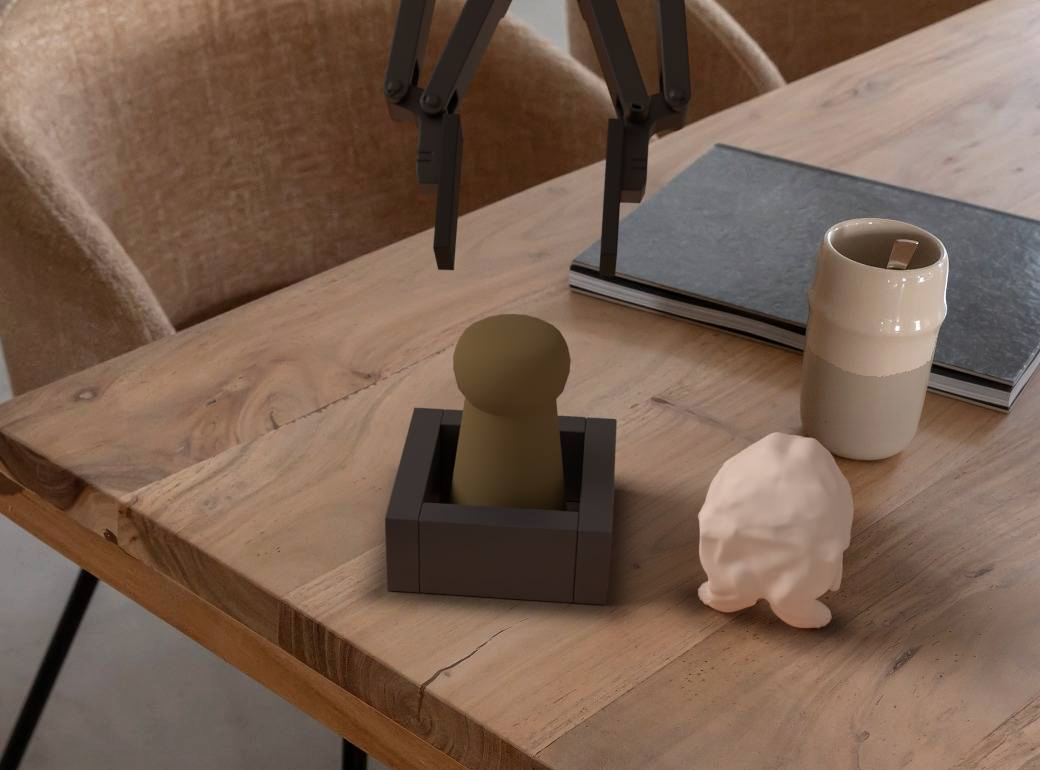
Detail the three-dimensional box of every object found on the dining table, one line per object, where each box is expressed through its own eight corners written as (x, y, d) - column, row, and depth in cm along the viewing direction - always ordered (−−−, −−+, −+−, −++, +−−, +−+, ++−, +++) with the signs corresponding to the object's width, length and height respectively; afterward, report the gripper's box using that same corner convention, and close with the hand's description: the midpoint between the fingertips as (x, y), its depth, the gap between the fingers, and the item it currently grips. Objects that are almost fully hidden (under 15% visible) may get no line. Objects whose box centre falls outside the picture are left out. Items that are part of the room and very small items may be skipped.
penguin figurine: (700, 459, 59) (752, 356, 69) (676, 636, 64) (728, 515, 73) (859, 488, 57) (890, 378, 67) (823, 668, 62) (856, 540, 72)
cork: (425, 556, 69) (422, 345, 63) (469, 492, 74) (471, 289, 67) (547, 583, 67) (557, 369, 61) (585, 515, 72) (598, 309, 65)
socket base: (611, 487, 74) (616, 418, 72) (606, 605, 66) (612, 532, 64) (415, 475, 75) (414, 406, 72) (386, 591, 67) (384, 517, 65)
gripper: (341, -248, 68) (299, 222, 65) (774, -246, 66) (753, 238, 63) (363, -144, 75) (326, 283, 72) (753, -139, 74) (733, 299, 70)
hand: (525, 261), depth 68 cm, fingers open, 7 cm apart
